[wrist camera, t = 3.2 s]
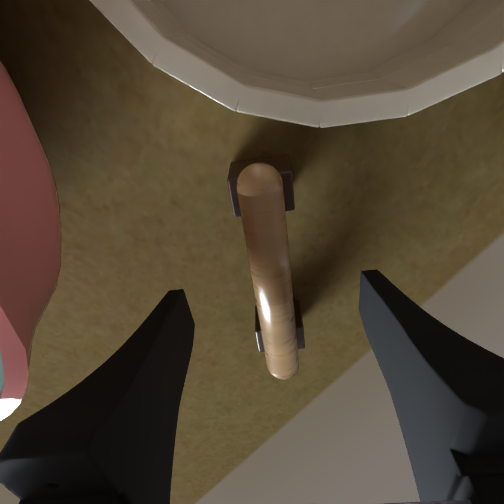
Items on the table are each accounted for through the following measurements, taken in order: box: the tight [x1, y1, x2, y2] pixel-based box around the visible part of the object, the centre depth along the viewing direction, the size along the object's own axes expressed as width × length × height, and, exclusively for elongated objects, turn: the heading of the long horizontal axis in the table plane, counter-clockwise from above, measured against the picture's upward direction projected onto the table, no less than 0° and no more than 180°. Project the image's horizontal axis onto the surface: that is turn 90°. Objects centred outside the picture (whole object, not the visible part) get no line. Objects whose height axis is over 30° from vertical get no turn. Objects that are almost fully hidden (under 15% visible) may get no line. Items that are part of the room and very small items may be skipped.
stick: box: [237, 163, 299, 379], centre depth 14 cm, size 11×2×2 cm, turn 8°
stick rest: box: [227, 155, 305, 352], centre depth 16 cm, size 10×2×2 cm, turn 8°
